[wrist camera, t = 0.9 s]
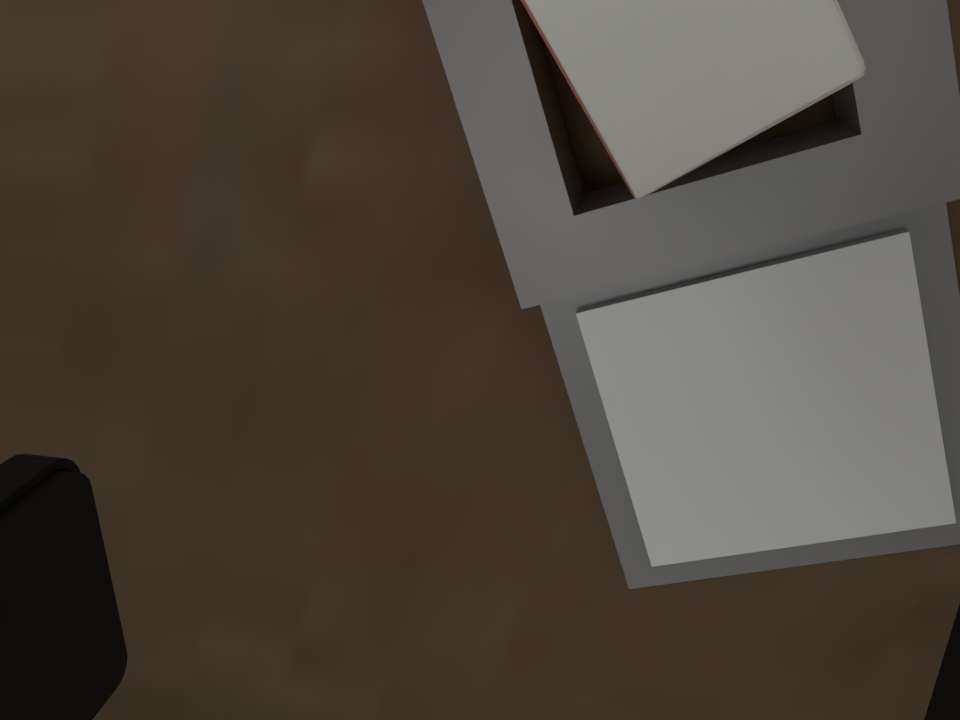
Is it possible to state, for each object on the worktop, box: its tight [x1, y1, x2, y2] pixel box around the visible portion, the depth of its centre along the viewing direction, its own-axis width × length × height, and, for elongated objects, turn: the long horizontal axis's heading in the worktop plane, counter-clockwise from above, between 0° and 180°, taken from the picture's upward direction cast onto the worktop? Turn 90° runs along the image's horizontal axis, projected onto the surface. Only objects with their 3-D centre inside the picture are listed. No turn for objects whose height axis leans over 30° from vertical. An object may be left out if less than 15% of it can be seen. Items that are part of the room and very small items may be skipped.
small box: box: [521, 0, 866, 199], centre depth 25 cm, size 8×6×13 cm
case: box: [422, 0, 960, 589], centre depth 31 cm, size 16×34×4 cm, turn 19°
